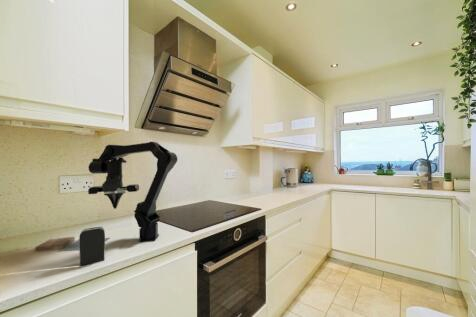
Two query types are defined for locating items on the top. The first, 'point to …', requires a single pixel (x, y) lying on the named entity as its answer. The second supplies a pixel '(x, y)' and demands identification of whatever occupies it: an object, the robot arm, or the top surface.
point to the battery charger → (92, 246)
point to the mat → (74, 246)
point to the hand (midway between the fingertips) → (115, 208)
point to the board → (55, 244)
